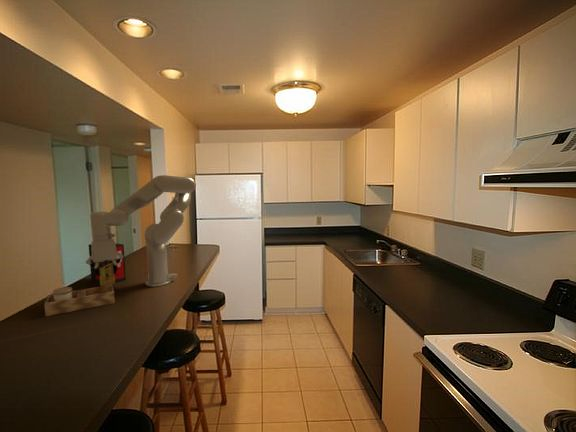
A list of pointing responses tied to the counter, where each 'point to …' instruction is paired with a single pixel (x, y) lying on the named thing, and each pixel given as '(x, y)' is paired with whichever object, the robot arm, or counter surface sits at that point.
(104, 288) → the caddy
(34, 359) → the counter surface
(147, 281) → the robot arm
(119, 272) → the cleaning product box
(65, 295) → the jar
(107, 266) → the sauce bottle
